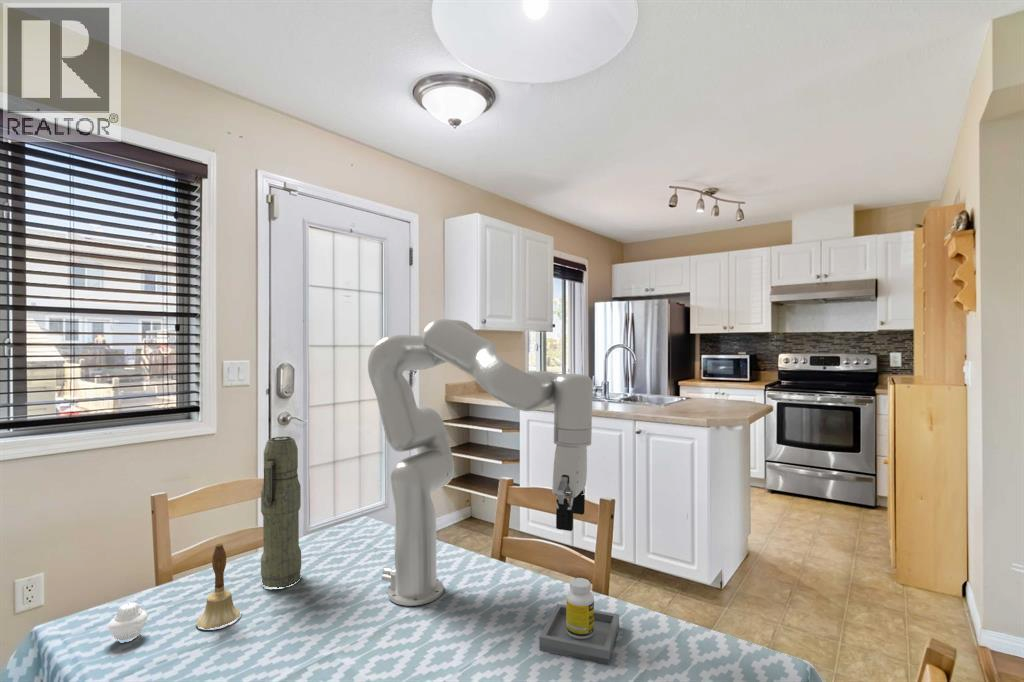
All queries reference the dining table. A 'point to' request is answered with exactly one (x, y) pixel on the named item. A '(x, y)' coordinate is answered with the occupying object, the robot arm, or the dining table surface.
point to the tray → (586, 649)
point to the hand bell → (218, 596)
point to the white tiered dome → (128, 621)
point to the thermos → (280, 513)
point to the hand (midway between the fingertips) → (570, 521)
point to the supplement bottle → (580, 609)
